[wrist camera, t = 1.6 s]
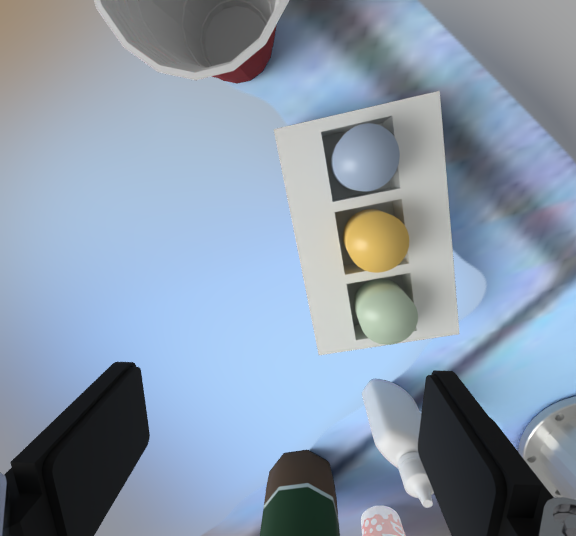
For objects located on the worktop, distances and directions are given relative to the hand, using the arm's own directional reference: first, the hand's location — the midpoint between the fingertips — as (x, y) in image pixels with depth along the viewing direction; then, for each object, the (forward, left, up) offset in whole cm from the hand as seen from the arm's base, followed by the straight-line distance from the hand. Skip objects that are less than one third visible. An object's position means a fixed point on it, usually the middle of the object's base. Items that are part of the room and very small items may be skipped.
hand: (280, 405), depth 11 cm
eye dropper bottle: (-6, +17, -22) cm, 28 cm away
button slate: (-6, -7, -18) cm, 21 cm away
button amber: (-6, -1, -18) cm, 19 cm away
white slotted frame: (-6, -1, -21) cm, 22 cm away
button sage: (-6, +5, -18) cm, 20 cm away
